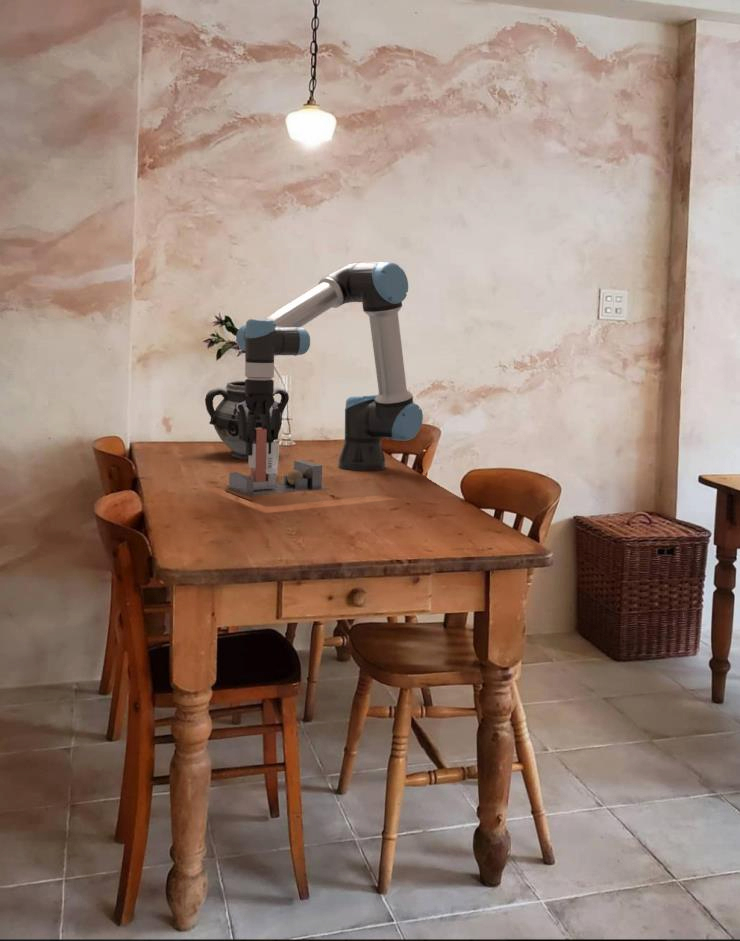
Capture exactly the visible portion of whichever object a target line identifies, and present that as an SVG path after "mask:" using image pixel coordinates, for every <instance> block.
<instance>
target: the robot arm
mask: <svg viewBox="0 0 740 941" xmlns="http://www.w3.org/2000/svg"><path fill="white" fill-rule="evenodd" d="M408 291H409V280H408V277H407V274H406V273H405V270H404V269H403V268H402V267H401V266H400V265H398V264H397V263H396V262H395V263H394V262H387V261H371V262H369V261H367V262H365V261H364V262H359V261H358V262H352V263H349V264H346V265H344V266H342V267H340V268H338V269H336V270H334V271H333V272H331V273H329V274H328V275H326V276H324V277H323V278H321V279H320V280H319V281H318V285H316V286H315V287H313V288H312V289H310V290H308V291H307V292H304V293H303V294H302V295H301V296H299V297H297V298H295V299H294V300H292V301H290V302H289V303H287V304H285V305H284V306H283V307H281V308H279V309H278V310H276V311H275V312H273V313H271V314H270V315H268V316H267V317H265V318H249V319H247V321H246V323H245V325H242V326H240V328H238V330H237V332H236V336H235V338H236V344H237V346H238V347H239V349H240V350H242V351H243V352H244V353H245V354H244V355H245V356H244V357H245V358H244V359H245V361H244V377H245V378H246V379H245V380H244V381H245V398H244V401H243V402H241V403H240V404H235V408H236V411H237V416H238V431H239V440H241V441H244V442H245V443H246V455H249V459H248V461H247V462H248V468H250V469H251V468H256V444H255V443H253V441H254V434H255V428H256V421H257V418H258V414H260V416H261V421H262V428H265V429H267V439H266V467H268V454H271V443H273V441H274V440H277V439H279V433H280V431H279V422H280V412H281V409H282V407H283V404H282V403H280V402H278V401H276V400H275V398H274V396H273V392H274V387H275V386H274V383H275V381H274V380H273V378H274V377H275V356H295V357H297V356H302V355H304V354H306V353H307V352H308V351H309V349H310V347H311V335H310V333H309V332H308V331H307V329H306V328H303V326H305V325H306V324H308V323H310V322H311V321H313V320H314V319H315V318H318V317H319V316H320V315H323V313H325V312H327V311H328V310H330V309H331V308H334V309H337V308H339V307H342V306H343V305H345V304H349V303H361V304H362V310H363V312H364V313H365V315H367V316H368V317H369V324H370V325H369V326H370V331H371V332H370V334H371V342H372V347H373V348H372V349H373V357H374V365H375V373H376V374H375V375H376V380H377V381H376V382H377V388H378V394H375V395H374V394H373V395H357V396H350V397H347V399H346V402H345V408H344V443H343V446H342V449H341V452H340V455H339V458H338V464H337V465H338V468H340V469H343V470H348V471H349V470H350V471H363V472H365V471H366V472H367V471H368V472H369V471H370V472H371V471H380V470H385V469H386V465H387V464H386V458H385V454H384V450H383V447H382V439H388V440H392V441H393V440H394V441H397V442H400V441H402V442H403V441H404V442H406V441H410V440H413V439H414V438H416V436H417V435H418V433H419V431H420V429H421V428H422V425H423V420H424V417H423V416H424V415H423V409H422V408H421V407H420V405H418V404H417V403H414V398H413V393H412V392H410V391H409V390H408V389H407V381H406V380H407V379H406V371H405V364H404V363H405V362H404V354H403V347H402V346H403V345H402V337H401V328H400V320H399V311H400V310H401V309H402V307H403V301H404V300H405V299H406V298H407V295H408V294H407V293H408ZM246 407H247V408H248V410H249V411H248V424H247V426H246V413H245V410H246ZM271 407H272V408H273V410H272V417H271V426H270V418H269V417H270V411H269V410H270V408H271ZM384 468H385V469H384Z"/></svg>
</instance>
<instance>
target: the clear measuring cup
mask: <svg viewBox="0 0 740 941" xmlns="http://www.w3.org/2000/svg"><path fill="white" fill-rule="evenodd" d="M280 441H281V439H280V438H278V439H277V440H274V441H273V443H271V454H268V467H266V471H271V472H274V473H276V477H277V476H278V473H279V471H278V469H279V457H280Z"/></svg>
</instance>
